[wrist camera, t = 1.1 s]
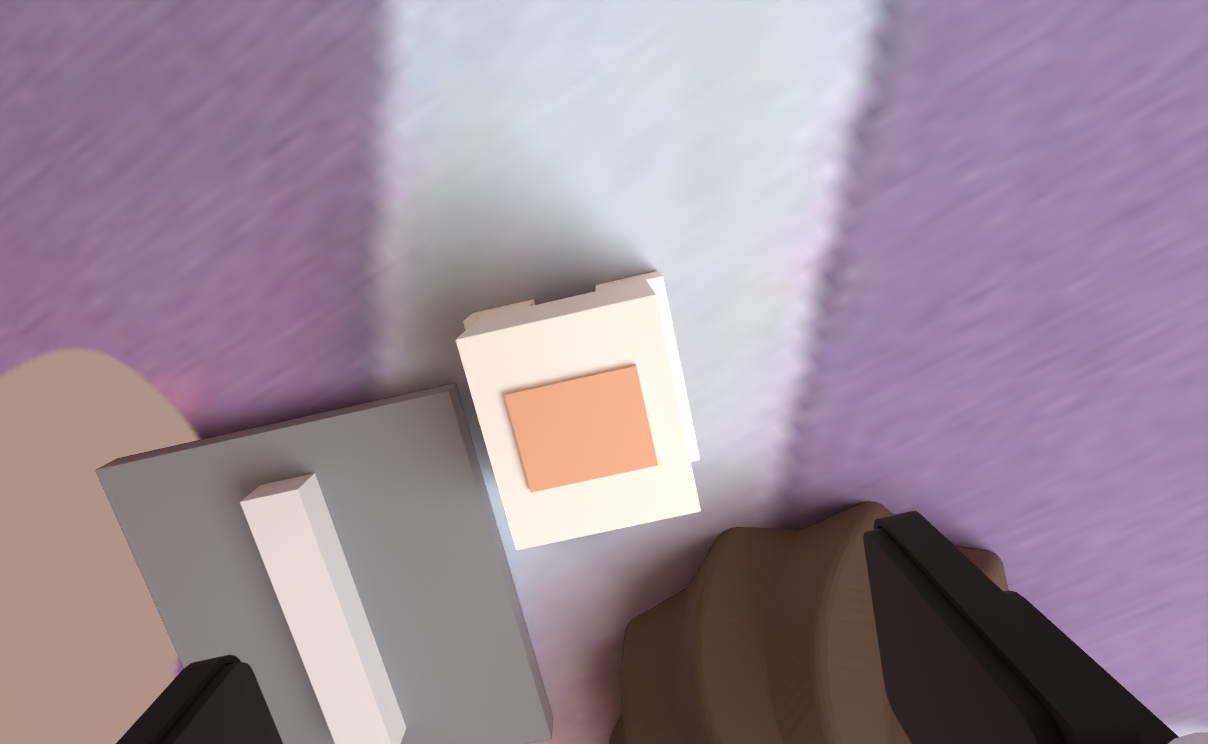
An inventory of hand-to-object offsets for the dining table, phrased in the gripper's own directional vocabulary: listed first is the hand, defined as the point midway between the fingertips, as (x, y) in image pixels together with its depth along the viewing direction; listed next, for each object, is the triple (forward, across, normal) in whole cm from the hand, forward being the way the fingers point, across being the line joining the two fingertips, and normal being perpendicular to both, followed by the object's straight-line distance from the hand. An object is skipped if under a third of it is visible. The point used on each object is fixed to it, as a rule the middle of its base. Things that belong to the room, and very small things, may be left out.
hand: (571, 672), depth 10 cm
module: (+17, 0, 0) cm, 17 cm away
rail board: (+16, +12, +7) cm, 21 cm away
